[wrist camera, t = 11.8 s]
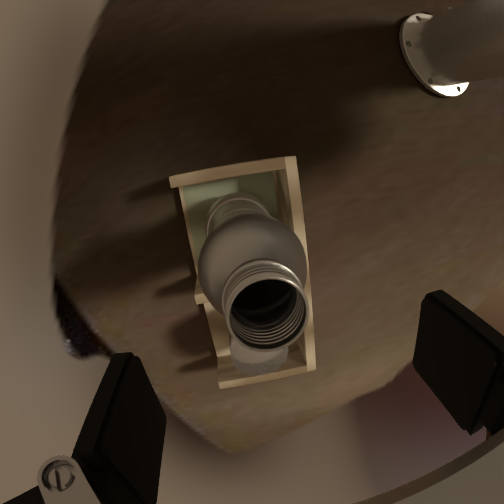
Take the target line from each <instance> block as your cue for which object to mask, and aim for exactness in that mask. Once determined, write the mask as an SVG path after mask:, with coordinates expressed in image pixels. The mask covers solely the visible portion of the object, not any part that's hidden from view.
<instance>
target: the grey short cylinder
mask: <svg viewBox="0 0 504 504" xmlns="http://www.w3.org/2000/svg"><path fill="white" fill-rule="evenodd" d="M228 336H229V345H230V355H231V361H232V363H233V365H234V367H235V368H236V369H237V370H239V371H240V372H242V373H245V374H248V375H265V374H268V373H271V372H273V371H275V370H277V369H278V368H279V367H281V366H282V365H283V363H284V362H285V360H286V359H287V356H288V346H287V347H285V348H283V349H281V350H278V351H273V352H256V351H252V350H249V349H247V348H245V347H243V346H242V345H240V344H239V343H238V342H237V341H236V340H235V339H234V338H233V337H232V335H231V334H230V332H229V330H228Z"/></svg>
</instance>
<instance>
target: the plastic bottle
mask: <svg viewBox="0 0 504 504" xmlns="http://www.w3.org/2000/svg"><path fill="white" fill-rule="evenodd" d="M205 235H206V240H205V242H204V244H203V247H202V249H201V251H200V255H199V259H198V278H199V283H200V286H201V288H202V291H203V293H204V295H205V296H206V298H207V299H208V301H209V302H210V303H211V305H212V306H213V307H214V308H215V309H216V310H217V311H218V312H219V313H220V314H221V315H223V316H224V317H225V320H226V325H227V327H228V330H229V332H230V334H231V335H232V337H233V338H234V339H235V340H236V341H237V342H238V343H239V344H240V345H242V346H243V347H245V348H247V349H249V350H252V351H256V352H273V351H278V350H281V349H283V348H285V347H287V346H289V345H291V344H292V343H293V342H295V341H296V340H297V339H298V338H299V337H300V336H301V334H302V333H303V331H304V330H305V328H306V326H307V323H308V320H309V314H310V312H309V303H308V299H307V296H306V294H305V292H304V287H305V284H306V278H307V262H306V255H305V251H304V248H303V246H302V244H301V242H300V240H299V238H298V237H297V235H296V234H295V233H294V232H293V230H292V229H291V228H289V227H288V226H287V225H286V224H284V223H283V222H281V221H279V220H278V219H276V218H274V217H272V216H270V213H269V211H268V209H267V208H266V206H265V205H264V204H263V203H262V202H261V201H260V200H259V199H258V198H256V197H254V196H252V195H250V194H247V193H241V192H235V193H229V194H227V195H224V196H222V197H221V198H219V199H218V200H216V201H215V202H214V203H213V204H212V206H211V207H210V209H209V210H208V213H207V215H206V219H205Z"/></svg>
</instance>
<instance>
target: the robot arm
mask: <svg viewBox="0 0 504 504" xmlns="http://www.w3.org/2000/svg"><path fill="white" fill-rule="evenodd" d="M399 40H400V46H401V51H402V53H403V56H404V59H405V61H406V63H407V65H408V67H409V68H410V70H411V71H412V73H413V74H414V76H415V77H416V78H417V79H418V80H419V82H420V83H421V84H423V85H424V86H425V87H426V88H427V89H428V90H430V91H431V92H433V93H435V94H437V95H439V96H443V97H454V96H458V95H461V94H462V93H463V92H464V91H465V90H466V88H467V86H468V84H469V82H474V81H479V80H485V79H492V78H498V77H504V0H469V1H466V2H464V3H462V4H460V5H457V6H455V7H453V8H450V7H448V8H447V9H446V11H445V12H443V13H440V14H438V15H436V16H431V15H428V14H423V13H419V14H414V15H411V16H410V17H408V18H407V19H405V21H404V22H403V23H402V25H401V28H400V33H399ZM413 366H414V368H415V370H416V371H417V373H418V374H419V375H420V376H421V377H422V379H423V380H424V381H425V382H426V383H427V385H428V386H429V387H430V389H431V390H432V391H433V392H434V394H435V395H436V396H437V397H438V399H439V400H440V401H441V403H442V404H443V405H444V407H445V408H446V409H447V410H448V412H449V413H450V414H451V415H452V417H453V418H454V419H455V421H456V422H457V423H458V425H459V426H460V427H461V428H462V429H463V430H467V431H468V433H469V434H470V435H472V434H474V433H475V432H477V431H478V430H480V429H482V427H483V425H484V426H485V427H486V429H487V430H486V440H485V441H484V442H483V443H481V444H479V445H478V446H476V447H475V448H473V449H472V450H470V451H468V452H467V453H465V454H463V455H462V456H460V457H458V458H457V459H455V460H453V461H451V462H449V463H447V464H446V465H444V466H442V467H440V468H438V469H436V470H434V471H432V472H430V473H428V474H426V475H424V476H422V477H420V478H418V479H416V480H413V481H411V482H409V483H407V484H405V485H402V486H400V487H397V488H395V489H393V490H390V491H388V492H385V493H383V494H380V495H377V496H375V497H372V498H369V499H366V500H363V501H360V502H357V503H354V504H504V336H503V335H502V334H500V333H499V332H498V331H497V330H495V329H494V328H493V327H492V326H490V325H489V324H488V323H486V322H485V321H484V320H483V319H481V318H480V317H478V316H477V315H476V314H475V313H473V312H472V311H471V310H469V309H468V308H467V307H465V306H464V305H462V304H461V303H460V302H458V301H457V300H456V299H454V298H453V297H451V296H450V295H449V294H447V293H446V292H444V291H443V290H437V291H434V292H431V293H428V294H426V296H425V298H424V299H423V300H422V303H421V311H420V319H419V326H418V333H417V339H416V345H415V351H414V357H413ZM165 430H166V415H165V413H164V410H163V408H162V406H161V404H160V402H159V400H158V398H157V396H156V394H155V392H154V389H153V387H152V385H151V383H150V381H149V378H148V376H147V374H146V372H145V369H144V367H143V365H142V362H141V360H140V358H139V357H138V356H134V355H133V353H131V352H126V353H115V354H114V355H113V356H112V358H111V361H110V363H109V365H108V368H107V369H106V372H105V374H104V376H103V378H102V381H101V383H100V385H99V388H98V390H97V393H96V395H95V397H94V399H93V402H92V404H91V407H90V409H89V412H88V414H87V416H86V419H85V421H84V424H83V427H82V429H81V432H80V434H79V437H78V439H77V442H76V445H75V448H74V450H73V454H72V457H68V456H64V455H63V456H55V457H52V458H50V459H49V460H47V461H45V462H44V464H43V465H42V466H41V467H40V469H39V471H38V475H37V481H38V486H36V487H34V488H32V489H30V490H29V491H27V492H25V493H23V494H21V495H19V496H17V497H15V498H13V499H11V500H9V501H7V502H5V503H3V504H156V502H157V495H158V486H159V485H158V484H159V477H160V468H161V460H162V452H163V444H164V437H165Z"/></svg>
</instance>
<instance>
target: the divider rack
mask: <svg viewBox="0 0 504 504" xmlns="http://www.w3.org/2000/svg"><path fill="white" fill-rule="evenodd" d="M169 181H170V186H171V188H175V187H179V192H180V197H181V202H182V207H183V212H184V217H185V222H186V227H187V232H188V237H189V242H190V246H191V251H192V256H193V260H194V265H195V269H196V273H197V279H196V286H195V293H194V296H195V300H196V304H202V303H204V307H205V311H206V315H207V319H208V323H209V327H210V331H211V335H212V339H213V342H214V346H215V350H216V354H217V363H218V383H219V387H220V389H222V388H229V387H235V386H241V385H246V384H252V383H257V382H263V381H268V380H273V379H278V378H282V377H287V376H291V375H296V374H300V373H304V372H308V371H313V370H316V362H315V344H314V328H313V313H312V300H311V287H310V276H309V265H308V254H307V244H306V235H305V226H304V217H303V208H302V200H301V192H300V184H299V176H298V169H297V162H296V156H285V157H276V158H268V159H261V160H255V161H248V162H241V163H235V164H229V165H223V166H218V167H212V168H206V169H201V170H196V171H191V172H186V173H181V174H176V175H173V176H170V177H169ZM235 192H241V193H247V194H250V195H252V196H254V197H256V198H258V199H259V200H260V201H261V202H262V203H263V204H264V205H265V206H266V208H267V209H268V211H269V213H270V216H272V217H274V218H276V219H278V220H279V221H281V222H283V223H284V224H286V225H287V226H288V227H289V228H291V229H292V230H293V232H294V233H295V234H296V235H297V237H298V238H299V240H300V242H301V244H302V246H303V248H304V251H305V255H306V262H307V278H306V284H305V287H304V292H305V294H306V296H307V299H308V303H309V312H310V314H309V320H308V323H307V326H306V328H305V330H304V331H303V333H302V334H301V336H300V337H299V338H298V339H297V340H296V341H295V342H293V343H292V344H291V345H289V346H288V356H287V359H286V360H285V362H284V363H283V365H282V366H281V367H279V368H278V369H277V370H275V371H273V372H271V373H268V374H265V375H248V374H245V373H242V372H240V371H239V370H237V369H236V368H235V367H234V365H233V363H232V361H231V355H230V345H229V336H228V327H227V325H226V320H225V317H224V316H223V315H221V314H220V313H219V312H218V311H217V310H216V309H215V308H214V307H213V306H212V305H211V303H210V302H209V301H208V299H207V298H206V296H205V295H204V293H203V291H202V288H201V286H200V283H199V278H198V259H199V255H200V251H201V249H202V247H203V244H204V242H205V240H206V235H205V219H206V215H207V213H208V210H209V209H210V207H211V206H212V204H213V203H214V202H215V201H216V200H218V199H219V198H221V197H222V196H224V195H227V194H229V193H235Z"/></svg>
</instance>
